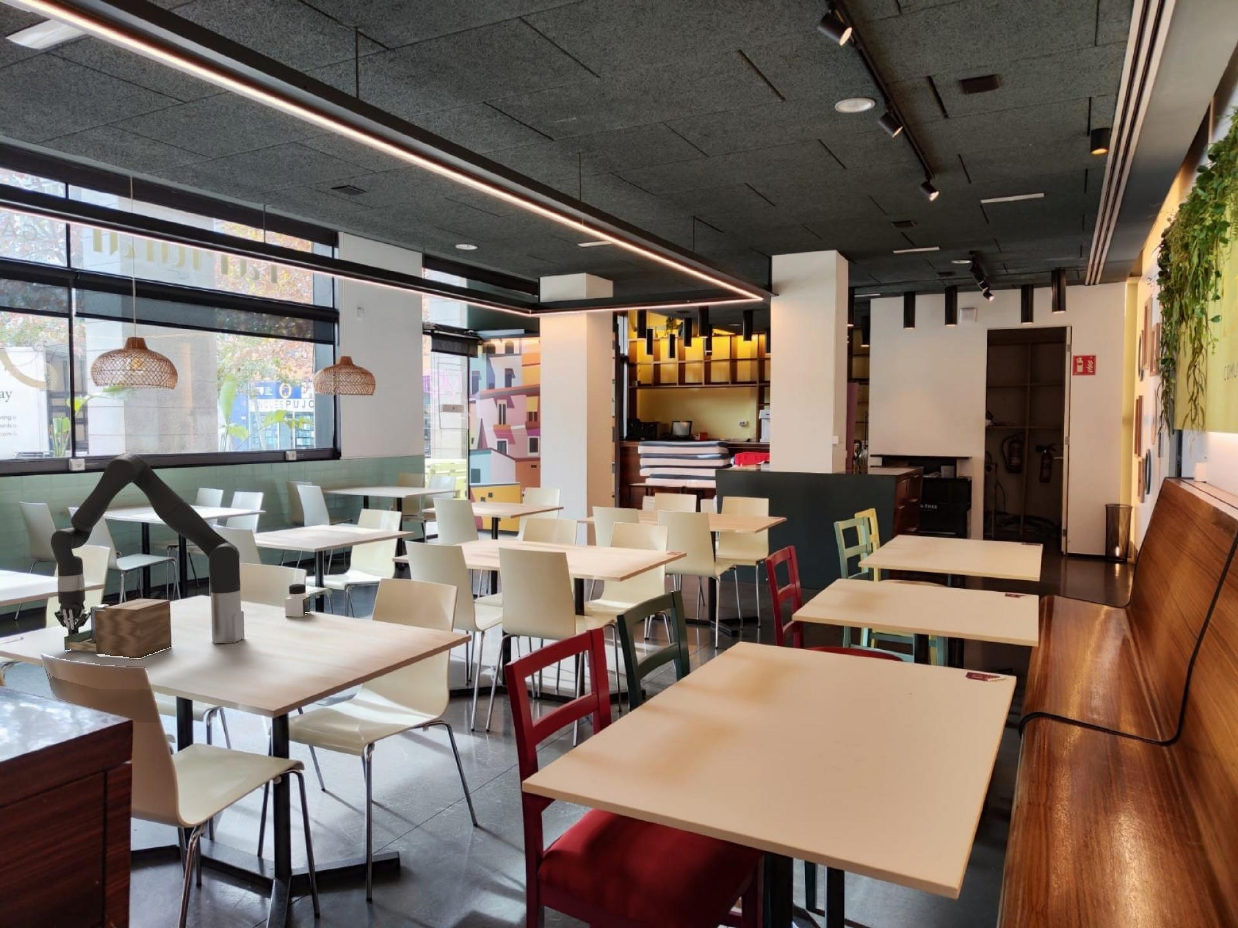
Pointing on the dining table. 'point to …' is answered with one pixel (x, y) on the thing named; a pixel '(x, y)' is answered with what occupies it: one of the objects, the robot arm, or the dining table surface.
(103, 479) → the robot arm
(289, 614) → the medicine bottle
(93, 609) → the can
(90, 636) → the wooden drawer
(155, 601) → the walnut box
